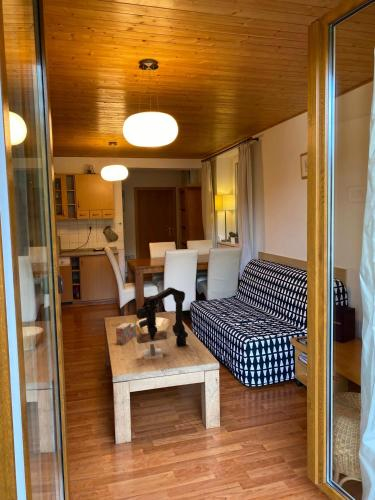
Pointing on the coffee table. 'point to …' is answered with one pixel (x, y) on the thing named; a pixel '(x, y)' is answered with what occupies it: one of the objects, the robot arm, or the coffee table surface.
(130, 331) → the stack of blocks
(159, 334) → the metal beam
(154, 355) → the fulcrum
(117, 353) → the coffee table surface
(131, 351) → the coffee table surface
